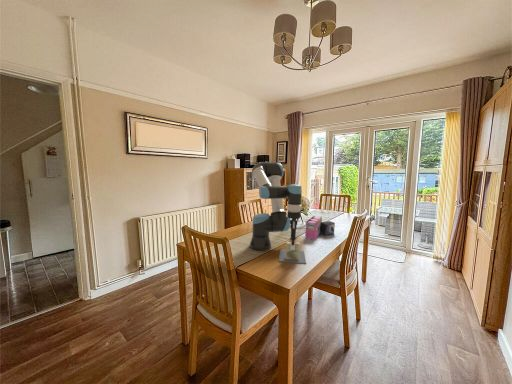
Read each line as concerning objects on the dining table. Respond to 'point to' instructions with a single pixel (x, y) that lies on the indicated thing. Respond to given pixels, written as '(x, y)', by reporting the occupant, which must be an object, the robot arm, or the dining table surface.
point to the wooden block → (292, 251)
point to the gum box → (313, 227)
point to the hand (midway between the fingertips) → (292, 249)
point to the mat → (283, 259)
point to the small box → (327, 228)
